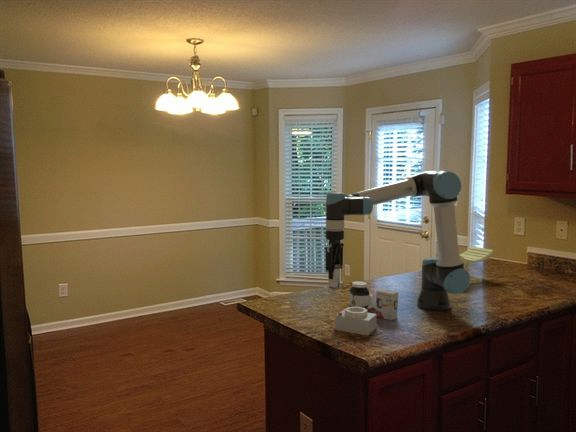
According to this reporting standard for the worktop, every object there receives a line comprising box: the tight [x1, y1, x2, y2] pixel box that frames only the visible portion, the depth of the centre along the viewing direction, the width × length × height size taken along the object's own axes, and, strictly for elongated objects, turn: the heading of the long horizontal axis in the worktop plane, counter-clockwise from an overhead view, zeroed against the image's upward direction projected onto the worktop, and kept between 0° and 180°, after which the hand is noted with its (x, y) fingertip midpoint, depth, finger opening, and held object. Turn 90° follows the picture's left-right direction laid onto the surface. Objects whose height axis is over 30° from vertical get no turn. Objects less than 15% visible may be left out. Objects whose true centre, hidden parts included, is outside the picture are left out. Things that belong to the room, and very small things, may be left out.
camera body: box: [334, 306, 378, 336], centre depth 199 cm, size 14×10×8 cm
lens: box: [328, 263, 341, 290], centre depth 204 cm, size 5×5×10 cm
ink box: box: [374, 288, 399, 321], centre depth 214 cm, size 9×5×12 cm, turn 50°
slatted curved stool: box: [435, 246, 494, 285], centre depth 283 cm, size 30×16×18 cm, turn 122°
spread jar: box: [348, 280, 376, 310], centre depth 229 cm, size 12×11×12 cm
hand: (334, 285), depth 204 cm, fingers closed on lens, 4 cm apart
